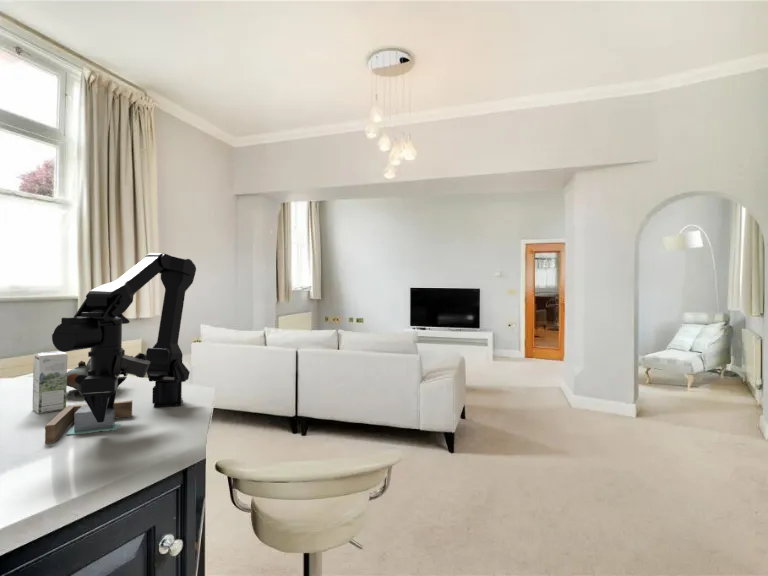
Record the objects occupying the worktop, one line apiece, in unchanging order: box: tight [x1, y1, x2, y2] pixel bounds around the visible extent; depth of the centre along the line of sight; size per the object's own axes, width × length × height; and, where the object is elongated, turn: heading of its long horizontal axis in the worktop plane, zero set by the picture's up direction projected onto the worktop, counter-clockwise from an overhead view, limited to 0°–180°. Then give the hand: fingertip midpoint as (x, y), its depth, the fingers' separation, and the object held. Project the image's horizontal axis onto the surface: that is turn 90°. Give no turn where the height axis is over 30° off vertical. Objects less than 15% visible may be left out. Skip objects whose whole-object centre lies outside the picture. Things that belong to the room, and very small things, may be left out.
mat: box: [65, 422, 121, 436], centre depth 94 cm, size 9×8×1 cm
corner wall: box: [44, 399, 133, 444], centre depth 93 cm, size 13×16×4 cm
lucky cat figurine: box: [67, 357, 91, 392], centre depth 125 cm, size 15×12×14 cm
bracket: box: [73, 405, 116, 432], centre depth 94 cm, size 7×6×4 cm
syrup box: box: [32, 350, 69, 414], centre depth 106 cm, size 6×6×14 cm
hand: (105, 415), depth 93 cm, fingers open, 9 cm apart
